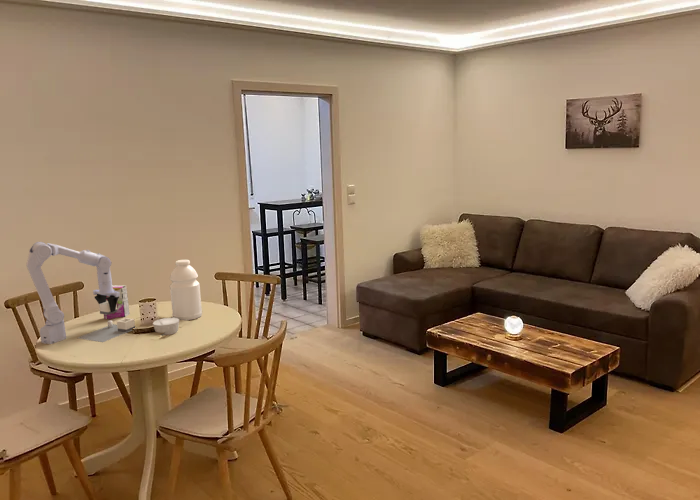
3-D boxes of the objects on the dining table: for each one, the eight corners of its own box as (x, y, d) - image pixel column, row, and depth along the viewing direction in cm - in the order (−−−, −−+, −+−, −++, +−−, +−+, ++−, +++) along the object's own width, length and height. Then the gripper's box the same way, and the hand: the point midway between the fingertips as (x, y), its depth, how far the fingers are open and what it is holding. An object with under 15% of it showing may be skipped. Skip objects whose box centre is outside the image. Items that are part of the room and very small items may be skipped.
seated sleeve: (126, 332, 253) (125, 322, 253) (117, 330, 256) (116, 321, 255) (135, 328, 258) (134, 319, 257) (126, 327, 260) (125, 317, 259)
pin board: (103, 345, 242) (102, 335, 241) (76, 341, 248) (75, 331, 248) (138, 330, 259) (137, 321, 259) (112, 327, 266) (111, 318, 265)
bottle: (178, 323, 269) (173, 265, 264) (168, 316, 280) (163, 260, 275) (206, 316, 277) (202, 260, 272) (196, 310, 288) (191, 256, 283)
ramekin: (148, 334, 254) (147, 323, 253) (167, 327, 264) (166, 316, 263) (166, 337, 249) (165, 326, 248) (185, 330, 259) (184, 319, 258)
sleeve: (108, 314, 256) (107, 305, 256) (100, 313, 259) (98, 304, 258) (117, 311, 261) (116, 302, 260) (109, 310, 263) (108, 301, 262)
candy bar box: (103, 320, 278) (99, 287, 275) (109, 317, 283) (105, 285, 280) (125, 320, 277) (121, 287, 274) (130, 317, 282) (126, 284, 279)
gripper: (123, 280, 258) (127, 309, 260) (100, 278, 264) (104, 306, 266) (111, 284, 251) (114, 314, 254) (88, 282, 257) (91, 311, 260)
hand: (108, 310), depth 260 cm, fingers closed on sleeve, 5 cm apart
